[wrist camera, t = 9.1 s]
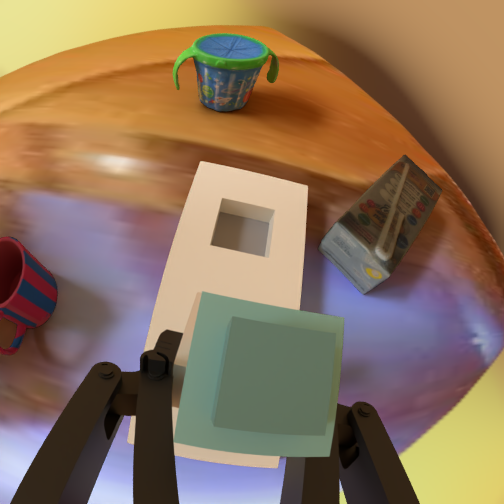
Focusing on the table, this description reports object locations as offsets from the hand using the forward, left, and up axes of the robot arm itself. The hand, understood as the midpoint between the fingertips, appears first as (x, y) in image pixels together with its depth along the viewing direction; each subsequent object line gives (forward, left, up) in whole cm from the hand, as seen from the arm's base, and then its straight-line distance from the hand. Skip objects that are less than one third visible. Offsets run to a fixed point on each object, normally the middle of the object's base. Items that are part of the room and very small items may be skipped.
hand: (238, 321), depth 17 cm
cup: (-20, -3, -9) cm, 23 cm away
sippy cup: (-7, +34, -9) cm, 36 cm away
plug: (0, -4, -5) cm, 6 cm away
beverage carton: (+16, +17, -9) cm, 25 cm away
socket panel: (0, +3, -9) cm, 10 cm away
